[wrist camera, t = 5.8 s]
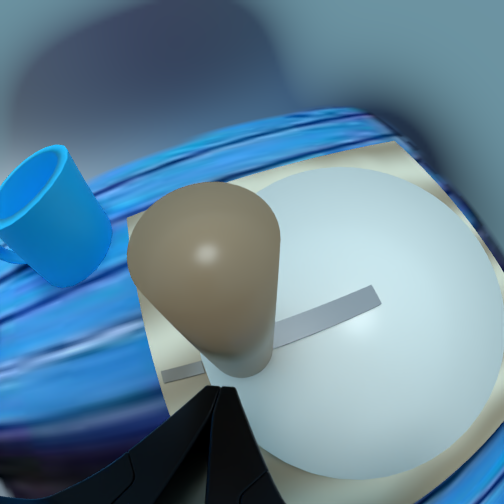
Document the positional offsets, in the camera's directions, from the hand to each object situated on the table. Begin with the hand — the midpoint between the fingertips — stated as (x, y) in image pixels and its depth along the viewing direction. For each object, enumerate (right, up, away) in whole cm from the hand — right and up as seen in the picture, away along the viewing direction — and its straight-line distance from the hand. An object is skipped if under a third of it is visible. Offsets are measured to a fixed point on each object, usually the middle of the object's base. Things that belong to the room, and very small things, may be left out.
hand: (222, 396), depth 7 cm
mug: (-17, +4, +14) cm, 22 cm away
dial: (+8, +1, +8) cm, 11 cm away
